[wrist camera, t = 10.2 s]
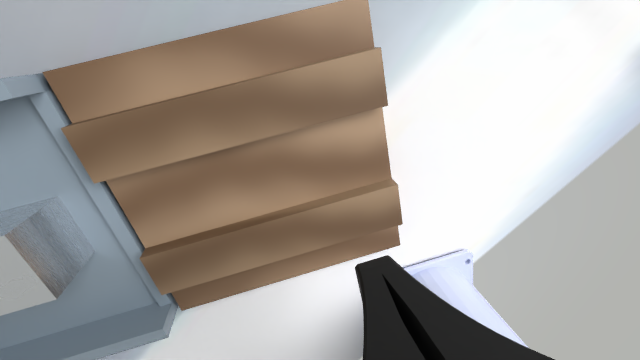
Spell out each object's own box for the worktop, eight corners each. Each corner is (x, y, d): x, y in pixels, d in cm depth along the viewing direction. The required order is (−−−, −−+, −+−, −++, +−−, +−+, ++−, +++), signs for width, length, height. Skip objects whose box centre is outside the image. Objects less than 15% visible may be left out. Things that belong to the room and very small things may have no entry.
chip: (95, 251, 19) (56, 299, 15) (29, 269, 19) (-27, 323, 15) (57, 195, 17) (4, 235, 14) (-16, 215, 17) (-91, 261, 13)
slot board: (394, 237, 23) (406, 253, 21) (184, 299, 22) (178, 322, 20) (361, -3, 16) (373, -9, 15) (55, 70, 15) (27, 73, 13)
